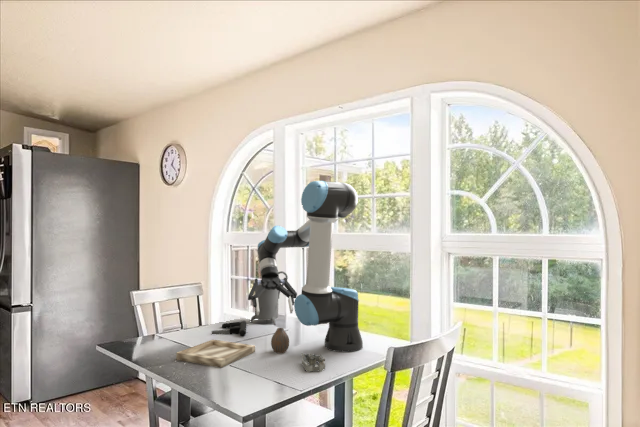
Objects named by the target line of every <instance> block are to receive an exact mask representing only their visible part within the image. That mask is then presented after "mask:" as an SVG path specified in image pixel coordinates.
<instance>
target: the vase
mask: <svg viewBox="0 0 640 427" xmlns="http://www.w3.org/2000/svg"><path fill="white" fill-rule="evenodd" d="M270 345H271V349H272V350H273V352H274V353H276V354H284V353H286V352H287V350H288V349H289V347H290V337H289V335H288V333H287V332H286V331H285V329H284V327H277V329H276V331H275V332H274V333H273V335H272V336H271V340H270Z"/></svg>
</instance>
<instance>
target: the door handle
mask: <svg viewBox="0 0 640 427" xmlns="http://www.w3.org/2000/svg"><path fill="white" fill-rule="evenodd" d="M247 326H248V322H247V321H245V320H241V321H236V322H235V321H234V322H224V323H222V325H221V328H222V329H216V330H215V329H214V330H211V335H212V334H216V335H239V336H240V337H244V336H246V334H248V333H249V332H247Z"/></svg>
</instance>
